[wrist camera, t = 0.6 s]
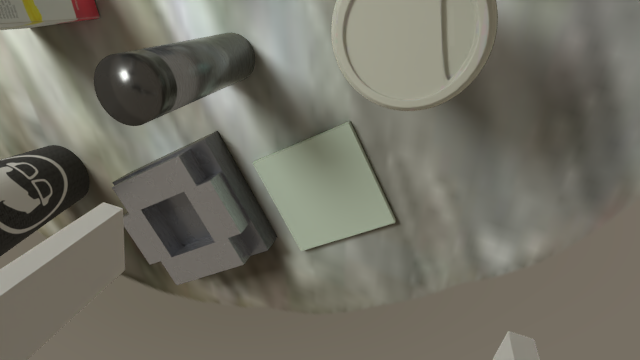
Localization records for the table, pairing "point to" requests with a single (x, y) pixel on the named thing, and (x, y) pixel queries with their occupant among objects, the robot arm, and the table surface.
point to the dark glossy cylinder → (170, 76)
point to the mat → (325, 188)
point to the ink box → (44, 12)
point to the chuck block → (194, 211)
